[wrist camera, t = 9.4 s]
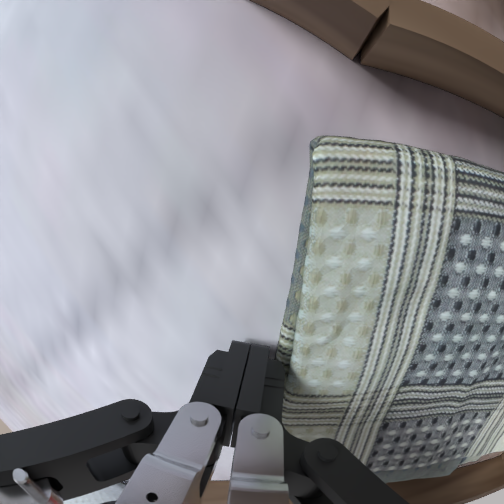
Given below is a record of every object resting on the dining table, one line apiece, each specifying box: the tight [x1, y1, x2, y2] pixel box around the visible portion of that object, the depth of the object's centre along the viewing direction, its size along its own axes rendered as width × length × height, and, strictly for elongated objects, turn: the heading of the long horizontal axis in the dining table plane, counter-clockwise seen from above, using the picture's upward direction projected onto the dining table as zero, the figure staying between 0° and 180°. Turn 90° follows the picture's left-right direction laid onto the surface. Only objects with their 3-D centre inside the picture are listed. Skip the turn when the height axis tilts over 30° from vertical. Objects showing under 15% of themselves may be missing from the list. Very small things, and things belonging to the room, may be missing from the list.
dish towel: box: [275, 136, 504, 483], centre depth 10 cm, size 19×18×3 cm
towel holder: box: [201, 0, 504, 504], centre depth 9 cm, size 30×28×4 cm
